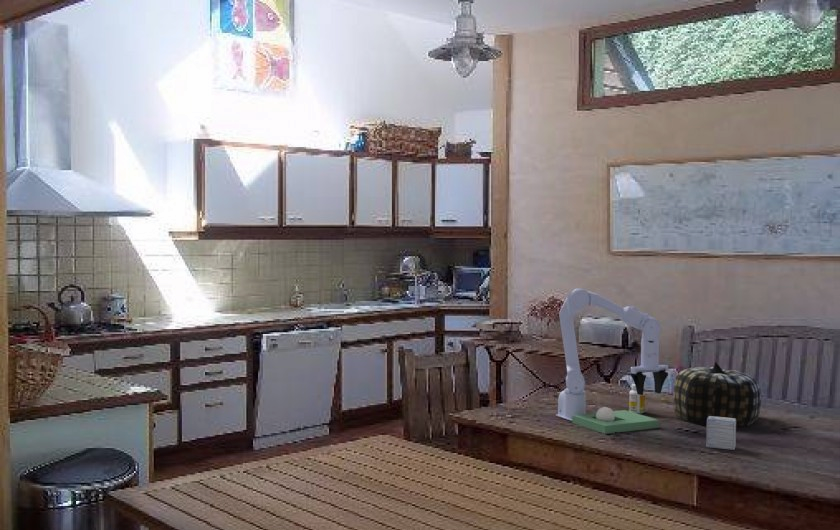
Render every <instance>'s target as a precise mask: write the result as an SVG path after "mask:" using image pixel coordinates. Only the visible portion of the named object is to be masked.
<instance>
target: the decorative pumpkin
mask: <svg viewBox="0 0 840 530" xmlns="http://www.w3.org/2000/svg"><path fill="white" fill-rule="evenodd" d="M673 386H674V387H673V389H674V391H673V407H674V408H673V410H674V411H673V416H674V418H675V419H677V420H679V421H683V422H685V423H690V424H696V425H700V426H703V427H704V426H705V427H707V418H708V417H709V416H715V417H726V418H735V419H736V427H746V426H750V425H752V424H754V423H756V421H757V420H758V418H759V416H760V412H761V408H762V390H761V387H760V384H759V382H758V381H757V380H756V378H754V377H753V376H752V375H750V374H748V373H744V372H740V371H738V370H734V369H724V368H721V366H720V364H718V363H717V361H715V362H714V365H713V366H712V367H704V366H691V367H689V368H686V369H682V370H681V371H679V372H678V373H677V374H676V376H675V379H674V385H673Z"/></svg>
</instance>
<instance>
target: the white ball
mask: <svg viewBox="0 0 840 530" xmlns="http://www.w3.org/2000/svg"><path fill="white" fill-rule="evenodd" d="M613 411H614V410H613V409H612V408H610V407H606V406H603V407H600V408H598V409H597V411H596V412H595V413H596V419H598V420H602V421H605V422H610V421H614V418H615V415H614V412H613Z"/></svg>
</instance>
